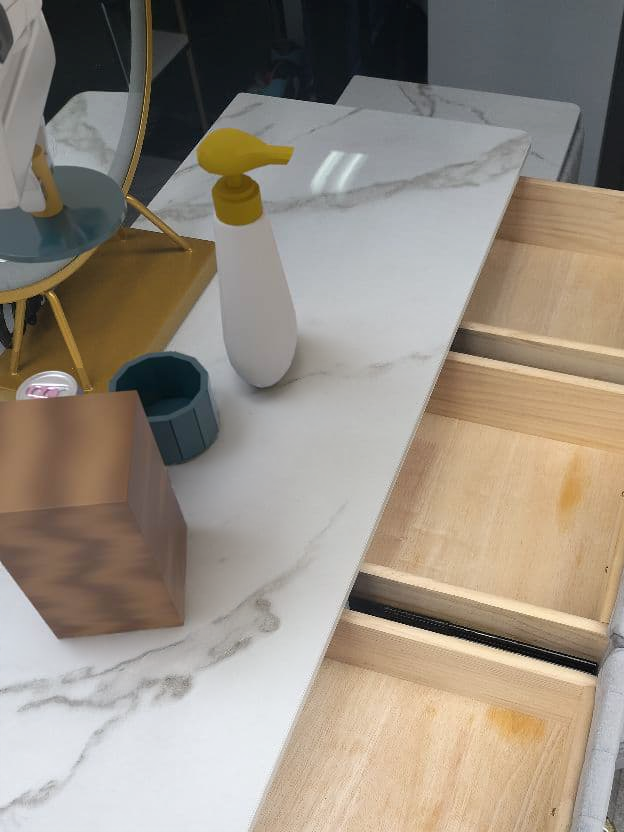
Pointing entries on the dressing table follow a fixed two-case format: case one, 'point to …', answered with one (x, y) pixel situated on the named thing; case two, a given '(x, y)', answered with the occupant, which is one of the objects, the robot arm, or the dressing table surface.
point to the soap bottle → (249, 258)
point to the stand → (90, 515)
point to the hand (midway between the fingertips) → (39, 191)
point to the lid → (63, 215)
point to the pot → (173, 402)
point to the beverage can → (48, 386)
